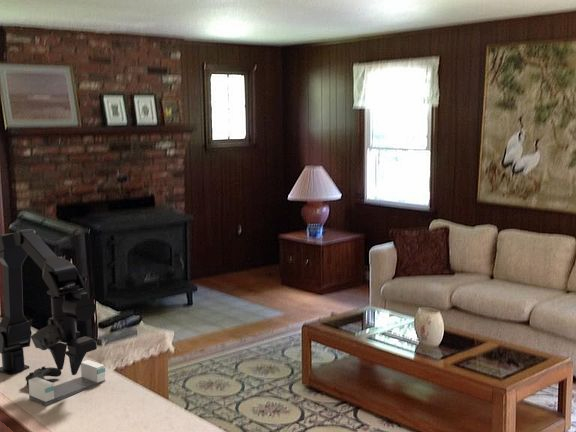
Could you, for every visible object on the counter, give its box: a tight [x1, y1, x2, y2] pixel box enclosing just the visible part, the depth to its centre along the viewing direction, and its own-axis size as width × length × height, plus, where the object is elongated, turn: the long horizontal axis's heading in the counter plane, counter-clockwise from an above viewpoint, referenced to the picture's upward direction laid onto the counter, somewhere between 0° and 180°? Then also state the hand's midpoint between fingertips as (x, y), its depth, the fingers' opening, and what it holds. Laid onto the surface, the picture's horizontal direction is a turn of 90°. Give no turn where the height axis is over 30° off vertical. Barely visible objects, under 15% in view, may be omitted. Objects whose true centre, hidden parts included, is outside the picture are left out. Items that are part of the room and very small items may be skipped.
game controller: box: [24, 366, 62, 386], centre depth 186 cm, size 10×5×6 cm
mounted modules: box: [28, 359, 106, 402], centre depth 180 cm, size 7×18×4 cm, turn 142°
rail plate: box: [28, 376, 106, 406], centre depth 181 cm, size 7×18×1 cm, turn 142°
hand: (67, 372), depth 180 cm, fingers open, 6 cm apart
